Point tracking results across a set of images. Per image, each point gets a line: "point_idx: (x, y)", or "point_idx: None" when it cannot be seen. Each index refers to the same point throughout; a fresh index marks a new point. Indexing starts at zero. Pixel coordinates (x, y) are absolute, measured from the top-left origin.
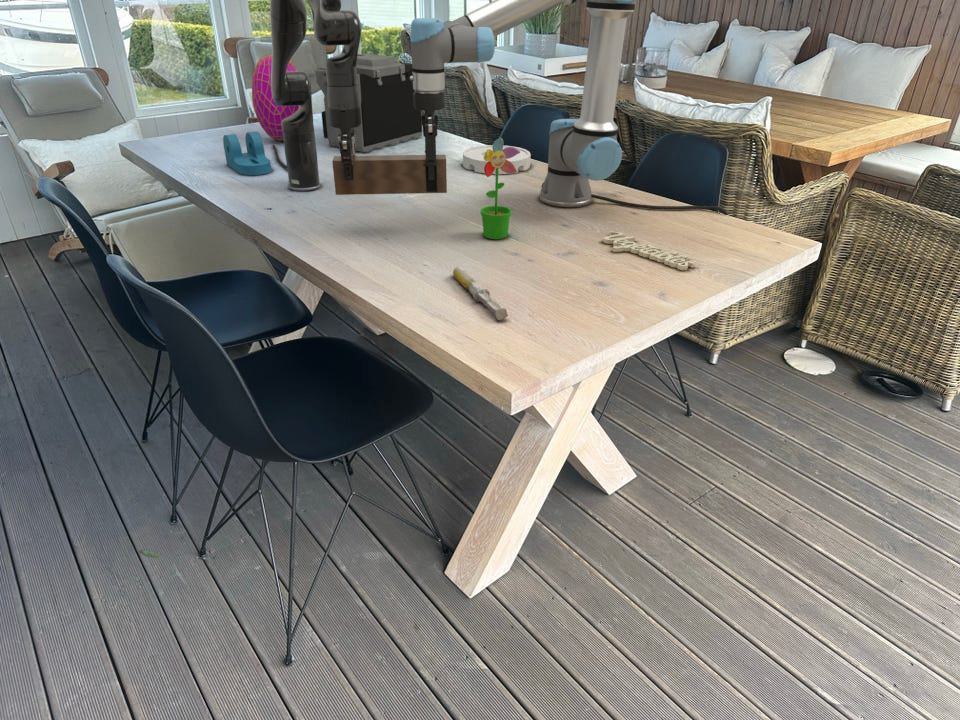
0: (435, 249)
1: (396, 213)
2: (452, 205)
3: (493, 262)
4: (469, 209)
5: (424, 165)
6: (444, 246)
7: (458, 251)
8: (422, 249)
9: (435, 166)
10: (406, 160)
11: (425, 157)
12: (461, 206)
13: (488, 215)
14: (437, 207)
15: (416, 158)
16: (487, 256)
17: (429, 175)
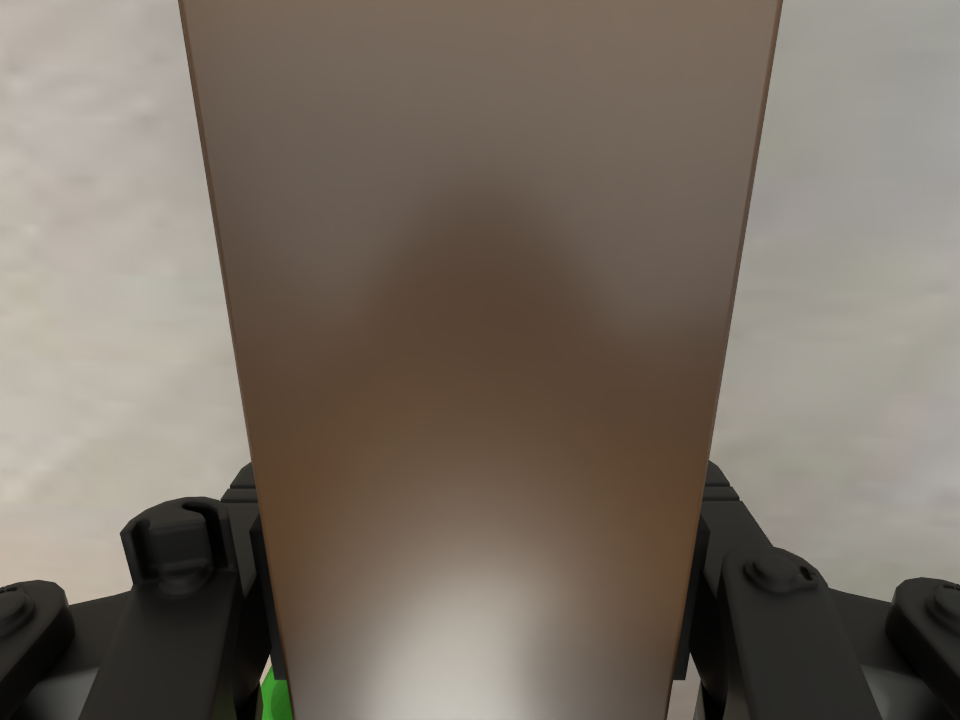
0: (156, 295)
1: (886, 19)
2: (937, 421)
3: (28, 555)
4: (829, 507)
5: (148, 532)
6: (211, 346)
7: (144, 414)
8: (145, 217)
9: (273, 656)
10: (206, 177)
11: (448, 611)
12: (899, 469)
13: (271, 669)
14: (928, 329)
15: (358, 437)
16: (99, 538)
17: (233, 496)
